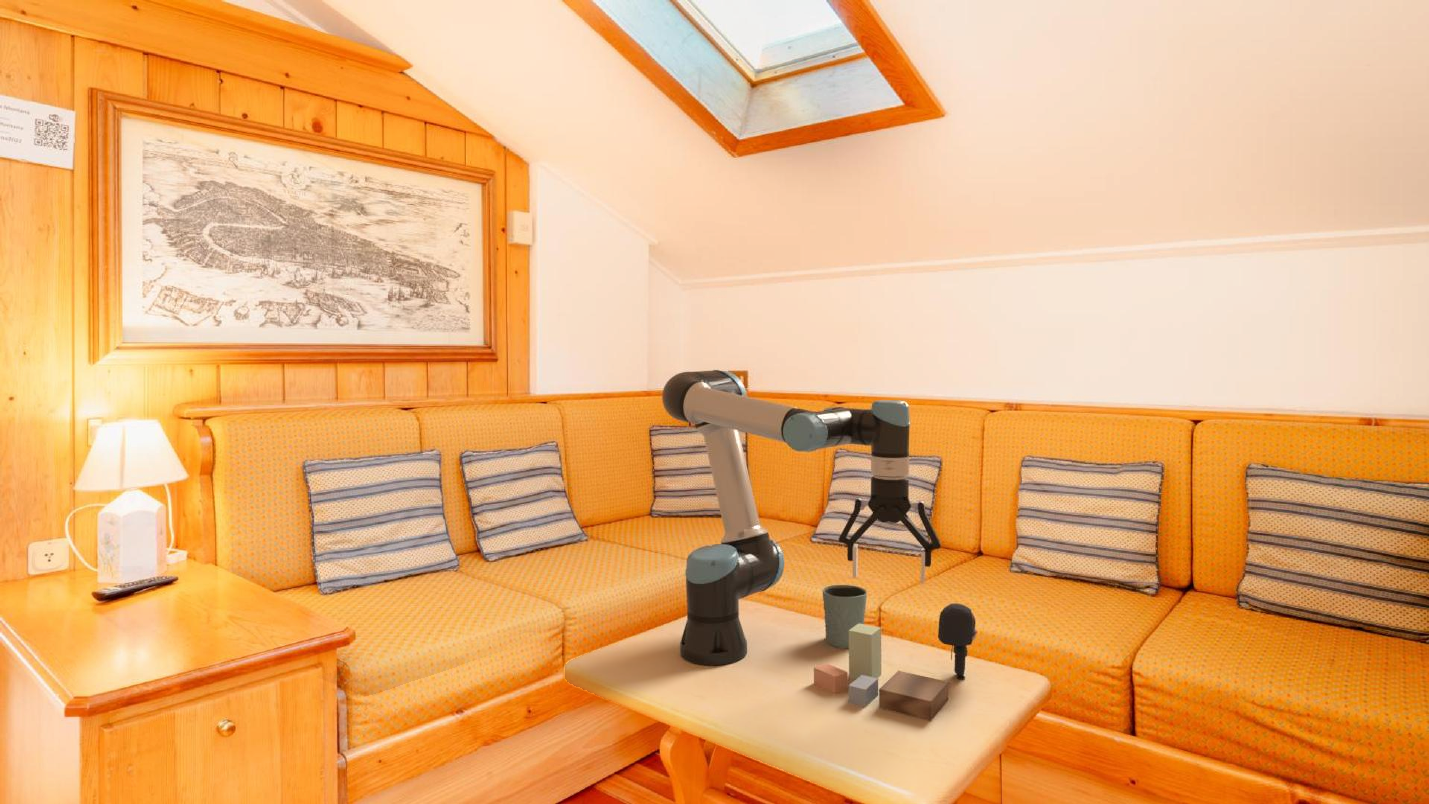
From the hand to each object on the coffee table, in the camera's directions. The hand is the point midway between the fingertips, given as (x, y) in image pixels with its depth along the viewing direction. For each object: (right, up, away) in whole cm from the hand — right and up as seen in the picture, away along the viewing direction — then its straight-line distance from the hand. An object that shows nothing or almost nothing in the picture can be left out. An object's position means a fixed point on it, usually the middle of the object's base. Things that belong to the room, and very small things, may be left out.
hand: (888, 579), depth 160 cm
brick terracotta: (-12, -21, -3) cm, 25 cm away
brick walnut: (+2, -22, -11) cm, 24 cm away
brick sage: (-4, -21, +2) cm, 21 cm away
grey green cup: (-5, -20, +22) cm, 30 cm away
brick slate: (-7, -21, -9) cm, 24 cm away
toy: (+14, -20, +1) cm, 25 cm away
